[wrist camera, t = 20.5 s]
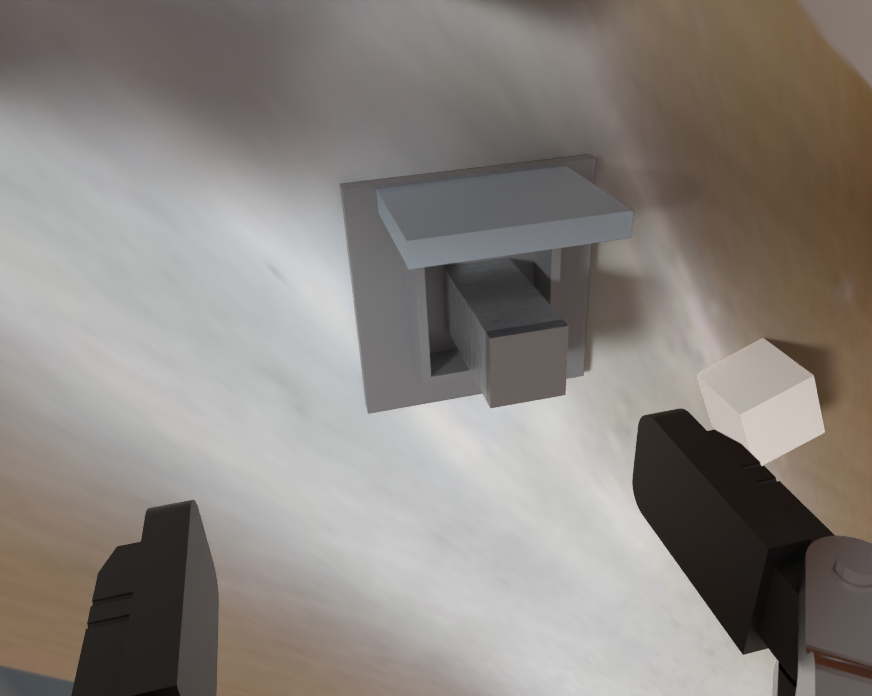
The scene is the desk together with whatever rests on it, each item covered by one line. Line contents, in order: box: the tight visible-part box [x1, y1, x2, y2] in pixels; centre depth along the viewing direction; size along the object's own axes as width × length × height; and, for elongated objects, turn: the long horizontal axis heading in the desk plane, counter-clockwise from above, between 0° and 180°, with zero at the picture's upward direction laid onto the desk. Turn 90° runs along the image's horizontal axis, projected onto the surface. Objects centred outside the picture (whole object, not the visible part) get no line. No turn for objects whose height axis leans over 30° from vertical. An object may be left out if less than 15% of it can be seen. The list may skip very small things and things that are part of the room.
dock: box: [340, 154, 634, 414], centre depth 45 cm, size 16×16×10 cm
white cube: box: [696, 338, 825, 466], centre depth 56 cm, size 6×6×6 cm
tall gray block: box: [443, 258, 569, 408], centre depth 44 cm, size 4×4×10 cm
